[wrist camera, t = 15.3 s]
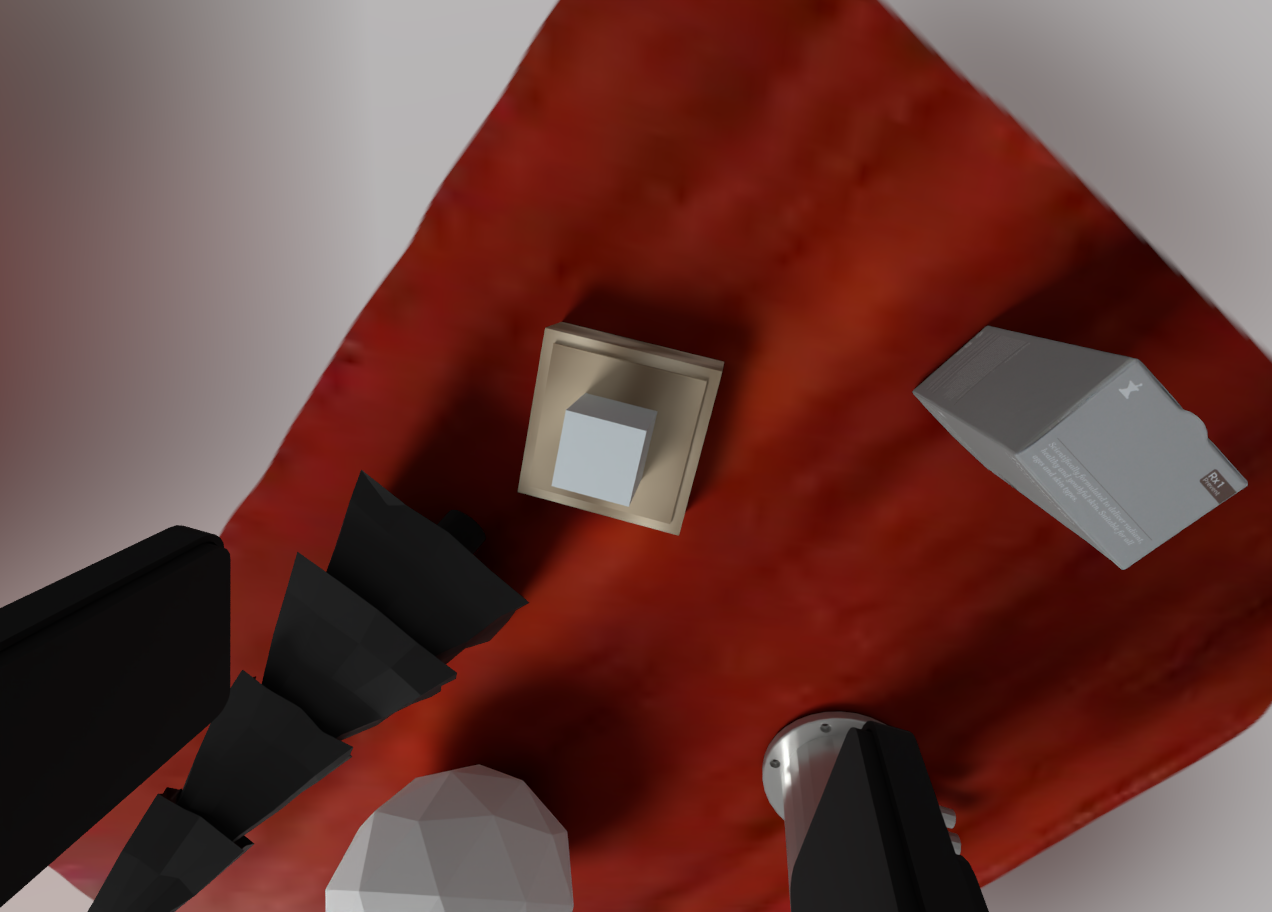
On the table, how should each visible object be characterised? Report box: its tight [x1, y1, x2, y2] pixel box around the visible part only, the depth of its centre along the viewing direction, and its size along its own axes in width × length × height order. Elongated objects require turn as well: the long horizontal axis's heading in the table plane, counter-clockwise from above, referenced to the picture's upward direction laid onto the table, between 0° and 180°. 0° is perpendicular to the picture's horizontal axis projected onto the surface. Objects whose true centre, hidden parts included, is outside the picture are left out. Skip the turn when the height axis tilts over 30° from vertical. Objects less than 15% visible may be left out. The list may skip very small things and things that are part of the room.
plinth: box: [518, 322, 724, 535], centre depth 46 cm, size 12×12×4 cm
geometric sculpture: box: [325, 764, 574, 912], centre depth 52 cm, size 19×20×20 cm
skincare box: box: [913, 326, 1248, 570], centre depth 36 cm, size 8×7×16 cm
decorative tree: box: [88, 470, 529, 912], centre depth 41 cm, size 15×15×35 cm
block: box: [552, 393, 658, 507], centre depth 41 cm, size 5×5×5 cm
